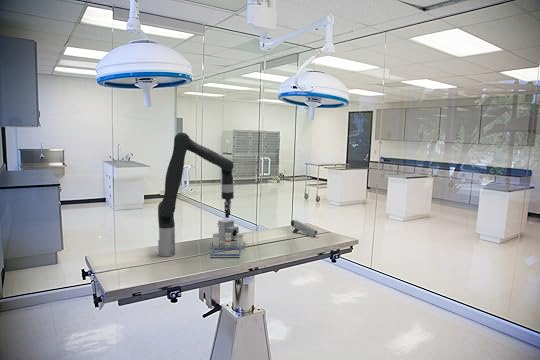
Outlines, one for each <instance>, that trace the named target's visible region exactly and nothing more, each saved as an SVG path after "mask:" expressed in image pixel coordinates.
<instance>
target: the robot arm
mask: <svg viewBox="0 0 540 360" xmlns="http://www.w3.org/2000/svg"><path fill="white" fill-rule="evenodd" d="M187 151H188V152H191V153H193V154H195V155H196V156H199V157H200V158H202V159H203V160H204V161H205V160H206V161H207V162H209V163H210V164H213V165H216V166H217V167H219V168H221V199H222V200H225V201H224V202H223V204H224V214H225V215H224V217H225V219H229V218H230V216H231V208H232V200H233V199H234V198H235V197H234V196H235V195H234V192H235V191H234V176H233V169H234V163H233V161H232V160H230V159H228V158H227V157H224V156H222V155H220V154H219V153H217V152H215V151H214V150H212V149H210V148H207V147H206V146H203V145H201V144H199V143H197V142H195V141H194V140H192V139H191V138H190V136H189V135H188V134H187V133H185V132H178V133H177V134H176V135H175V136H174V140H173V151H172V155H171V157H170V160H169V162H168V166H167V169H166V175H165V182H164V194H163V197H162V200H161V201H160V202H159V203H158V207H157V219H158V220H157V221H158V222H157V223H158V238H159V239H158V241H157V242H158V243H157V244H158V245H157V247H158V248H157V249H158V251H157V253H158V256H159V257H173V256H175V255H176V231H175V230H176V228H175V227H176V225H175V216H174V215H175V212H176V211H175V210H176V204H177V203H176V202H177V197H178V192H179V189H180V185H181V183H182V182H181V181H182V178H183V174H184V167H185V158H186V154H187Z"/></svg>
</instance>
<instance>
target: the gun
mask: <svg viewBox="0 0 540 360" xmlns="http://www.w3.org/2000/svg"><path fill="white" fill-rule="evenodd" d="M290 226H291V227H293V228H294V229H293V231H292V233H293V234H297V233H298V232H301V233H303V234H305V235H307V236H309V237H311V238H313V237H314V238H315V237H316V236H317V233H318V230H317V229H315V228H313V227H311V226H310V225H308V224H305V223H303V222H301V221H299V220H295V219H292V220H291V221H290Z"/></svg>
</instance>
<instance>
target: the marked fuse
mask: <svg viewBox="0 0 540 360" xmlns="http://www.w3.org/2000/svg"><path fill="white" fill-rule="evenodd" d="M231 242H232V241H231V233H225V248H231Z"/></svg>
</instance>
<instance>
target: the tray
mask: <svg viewBox="0 0 540 360" xmlns="http://www.w3.org/2000/svg"><path fill="white" fill-rule="evenodd" d="M241 250H242V249H241V248H213V249H211V252H210V259H240V256H241ZM215 251H238V252H237V253H214V252H215Z"/></svg>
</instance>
